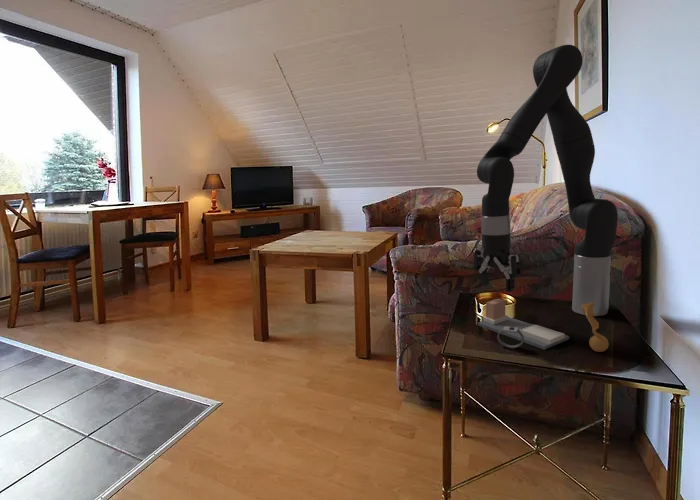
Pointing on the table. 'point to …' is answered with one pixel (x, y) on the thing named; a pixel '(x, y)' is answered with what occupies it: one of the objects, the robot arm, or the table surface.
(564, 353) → the table surface
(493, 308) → the tan rectangular block
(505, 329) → the wristwatch
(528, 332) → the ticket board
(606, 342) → the figurine
